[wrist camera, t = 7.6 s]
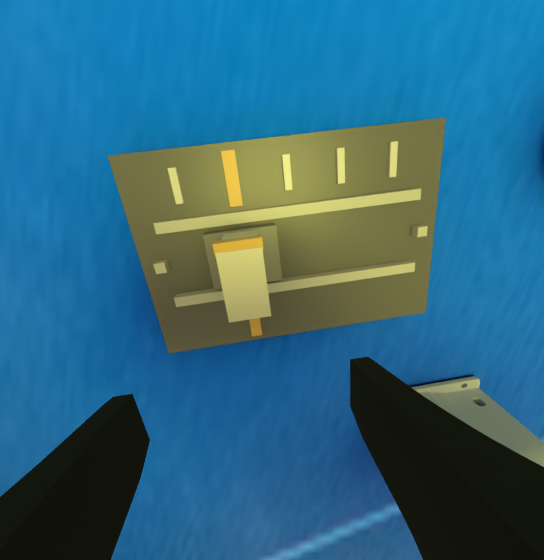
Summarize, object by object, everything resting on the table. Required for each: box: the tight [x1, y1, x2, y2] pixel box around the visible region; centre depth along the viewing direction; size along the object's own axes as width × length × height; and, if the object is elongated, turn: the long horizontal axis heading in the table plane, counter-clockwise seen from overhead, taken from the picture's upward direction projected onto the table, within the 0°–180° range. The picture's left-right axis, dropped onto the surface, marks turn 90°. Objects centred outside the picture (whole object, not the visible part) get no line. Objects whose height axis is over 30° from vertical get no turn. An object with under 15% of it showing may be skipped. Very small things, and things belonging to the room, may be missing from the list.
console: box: [108, 118, 446, 353], centre depth 16 cm, size 18×12×2 cm, turn 97°
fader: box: [203, 223, 282, 323], centre depth 13 cm, size 4×3×5 cm
